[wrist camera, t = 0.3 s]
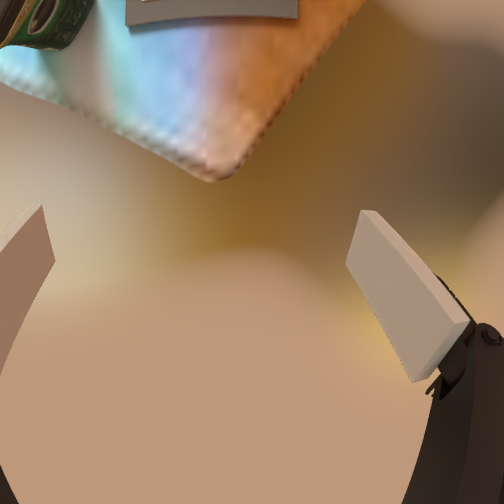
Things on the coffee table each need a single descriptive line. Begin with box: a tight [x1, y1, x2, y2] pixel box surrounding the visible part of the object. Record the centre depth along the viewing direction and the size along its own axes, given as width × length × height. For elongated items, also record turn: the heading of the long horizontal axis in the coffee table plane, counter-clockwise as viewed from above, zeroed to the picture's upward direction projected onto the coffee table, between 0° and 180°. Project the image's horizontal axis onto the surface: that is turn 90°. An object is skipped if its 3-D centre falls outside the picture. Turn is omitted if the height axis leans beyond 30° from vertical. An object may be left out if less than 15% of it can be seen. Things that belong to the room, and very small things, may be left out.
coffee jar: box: [0, 0, 94, 51], centre depth 15 cm, size 10×8×19 cm
